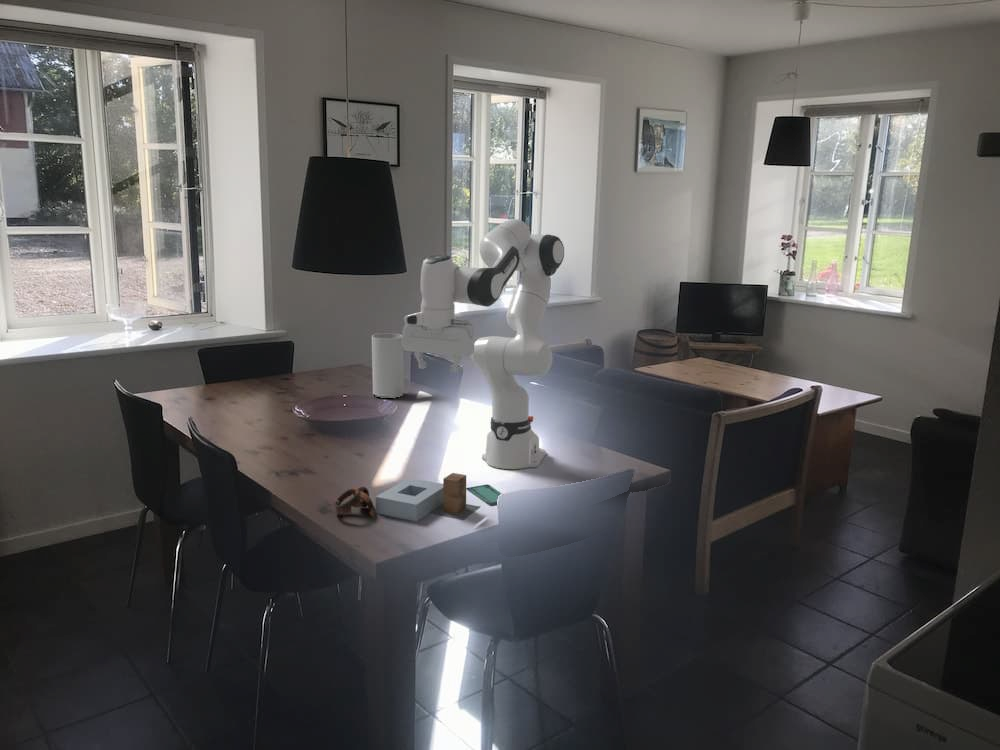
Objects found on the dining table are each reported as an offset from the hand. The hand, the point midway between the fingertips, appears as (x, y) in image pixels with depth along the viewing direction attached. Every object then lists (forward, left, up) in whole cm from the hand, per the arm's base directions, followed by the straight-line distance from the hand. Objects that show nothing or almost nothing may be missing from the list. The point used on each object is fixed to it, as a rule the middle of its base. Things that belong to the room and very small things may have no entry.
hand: (438, 370), depth 211 cm
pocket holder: (+12, -1, -35) cm, 37 cm away
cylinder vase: (-89, -74, -35) cm, 121 cm away
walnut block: (+9, +10, -34) cm, 37 cm away
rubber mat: (+9, +10, -35) cm, 37 cm away
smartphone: (-5, +13, -36) cm, 38 cm away
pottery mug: (+22, -11, -35) cm, 43 cm away
